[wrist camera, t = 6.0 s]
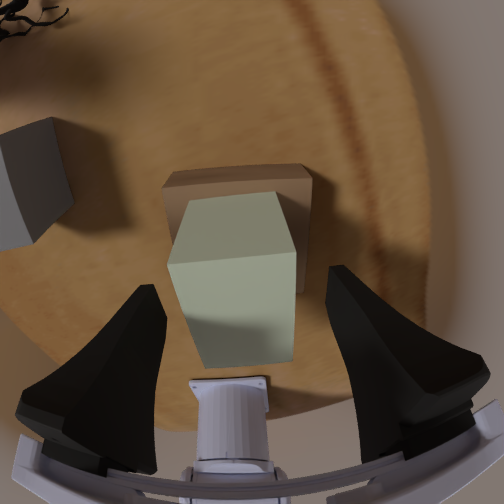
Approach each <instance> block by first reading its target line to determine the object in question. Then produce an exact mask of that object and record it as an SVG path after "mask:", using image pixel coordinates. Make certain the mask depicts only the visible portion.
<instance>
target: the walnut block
mask: <svg viewBox="0 0 504 504" xmlns="http://www.w3.org/2000/svg"><path fill="white" fill-rule="evenodd" d="M273 191H275V192H276V195H277V198H278V201H279V203H280V206H281V209H282V212H283V215H284V217H285V220H286V223H287V226H288V229H289V232H290V235H291V238H292V241H293V244H294V247H295V250H296V293H304V285H305V275H306V265H307V254H308V242H309V229H310V215H311V198H312V177H311V176H310V175H309V173H308V172H307V171H306V170H305V168H304V167H303V166H302V165H301V164H266V165H245V166H230V167H217V168H205V169H195V170H185V171H177V172H173V173H172V174H171V176H170V177H169V178H168V180H167V181H166V183H165V184H164V185H163V187H162V194H163V199H164V204H165V209H166V214H167V219H168V224H169V229H170V234H171V238H172V243H173V245H174V242H175V239H176V236H177V233H178V230H179V227H180V225H181V222H182V219H183V216H184V214H185V211H186V208H187V206H188V203H189V201H190V200H198V199H206V198H214V197H222V196H231V195H241V194H251V193H262V192H273Z"/></svg>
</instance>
